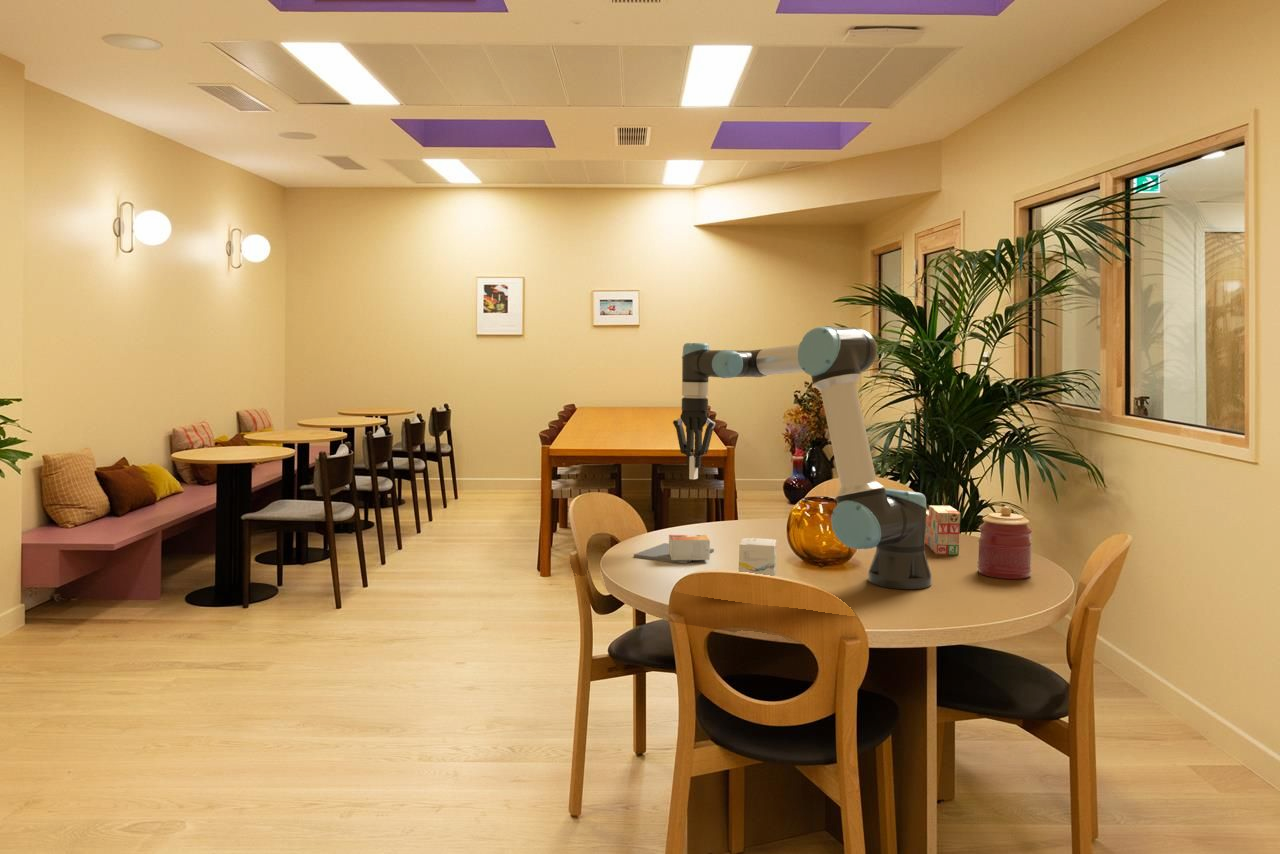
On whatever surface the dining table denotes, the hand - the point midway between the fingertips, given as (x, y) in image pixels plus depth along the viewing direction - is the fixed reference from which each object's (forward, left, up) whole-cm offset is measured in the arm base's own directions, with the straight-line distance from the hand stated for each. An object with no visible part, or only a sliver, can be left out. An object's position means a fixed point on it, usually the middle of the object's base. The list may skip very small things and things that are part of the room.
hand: (693, 478), depth 269 cm
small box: (-10, +11, -17) cm, 23 cm away
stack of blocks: (-61, -40, -21) cm, 76 cm away
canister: (-83, -13, -21) cm, 87 cm away
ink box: (-34, +34, -21) cm, 52 cm away
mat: (+1, +10, -20) cm, 23 cm away
